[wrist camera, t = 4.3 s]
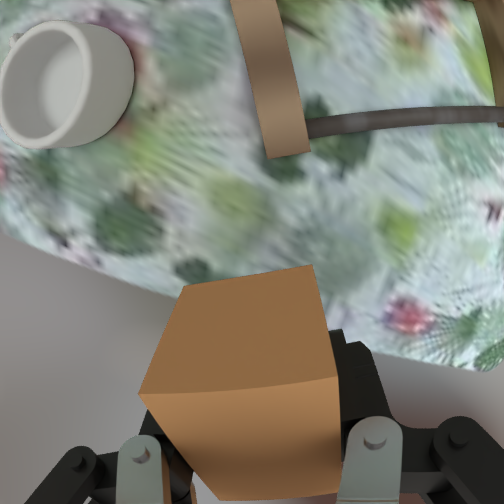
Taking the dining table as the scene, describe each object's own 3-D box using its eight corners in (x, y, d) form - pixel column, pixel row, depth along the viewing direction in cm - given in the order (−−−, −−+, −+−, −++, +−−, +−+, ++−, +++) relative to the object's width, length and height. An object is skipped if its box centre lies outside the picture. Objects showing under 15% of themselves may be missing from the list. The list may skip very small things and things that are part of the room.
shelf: (211, -71, 14) (202, -96, 10) (464, -66, 11) (485, -80, 7) (267, 151, 21) (267, 159, 18) (516, 126, 18) (546, 132, 15)
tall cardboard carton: (184, 285, 10) (137, 393, 6) (312, 264, 9) (337, 375, 5) (231, 406, 12) (219, 500, 8) (327, 394, 12) (341, 491, 8)
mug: (164, 76, 20) (129, 67, 14) (83, 168, 23) (38, 188, 17) (77, -6, 16) (34, -24, 11) (11, 82, 19) (-36, 85, 14)
